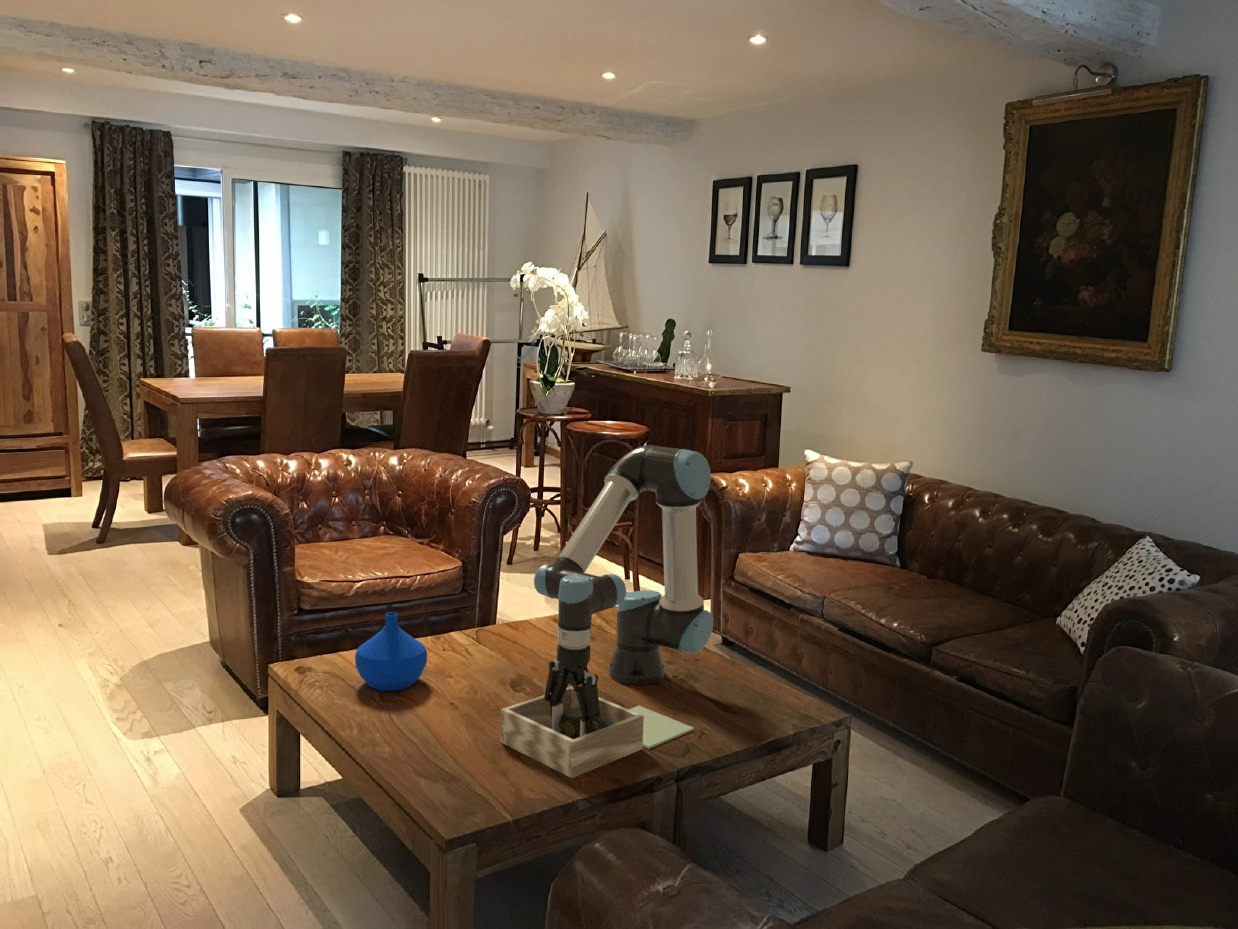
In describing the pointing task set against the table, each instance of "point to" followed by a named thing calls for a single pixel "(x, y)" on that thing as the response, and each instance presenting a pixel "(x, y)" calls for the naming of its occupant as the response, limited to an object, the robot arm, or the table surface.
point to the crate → (570, 757)
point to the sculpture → (572, 724)
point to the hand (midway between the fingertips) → (570, 739)
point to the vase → (391, 658)
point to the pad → (659, 727)
